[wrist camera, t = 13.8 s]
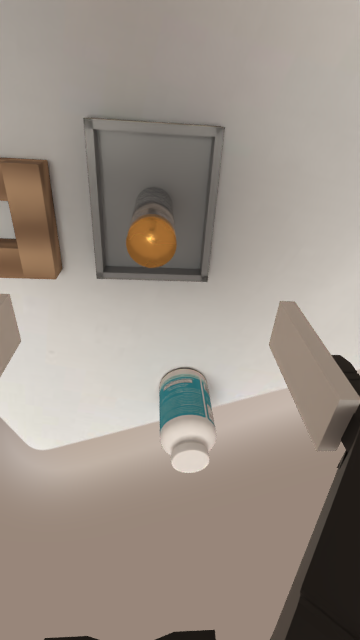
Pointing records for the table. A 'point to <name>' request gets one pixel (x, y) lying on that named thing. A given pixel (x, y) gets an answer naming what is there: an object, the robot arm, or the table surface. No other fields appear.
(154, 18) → the table surface
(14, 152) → the table surface
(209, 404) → the pill bottle
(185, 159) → the tray
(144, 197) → the pin
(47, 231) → the socket block
